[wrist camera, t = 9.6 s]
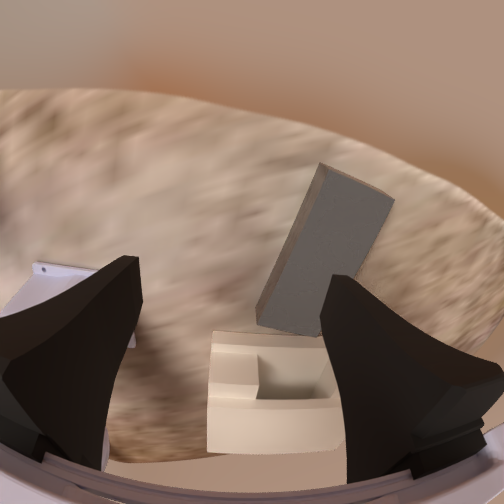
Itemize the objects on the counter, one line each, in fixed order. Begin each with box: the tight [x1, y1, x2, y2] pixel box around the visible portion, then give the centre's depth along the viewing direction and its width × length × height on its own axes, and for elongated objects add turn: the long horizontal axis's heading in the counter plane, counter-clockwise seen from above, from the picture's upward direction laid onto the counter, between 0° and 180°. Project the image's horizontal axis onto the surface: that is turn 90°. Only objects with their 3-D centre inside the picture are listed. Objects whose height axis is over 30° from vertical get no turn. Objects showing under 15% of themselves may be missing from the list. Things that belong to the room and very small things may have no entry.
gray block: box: [255, 163, 395, 338], centre depth 20 cm, size 5×12×2 cm, turn 160°
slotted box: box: [207, 330, 345, 454], centre depth 25 cm, size 13×14×6 cm
